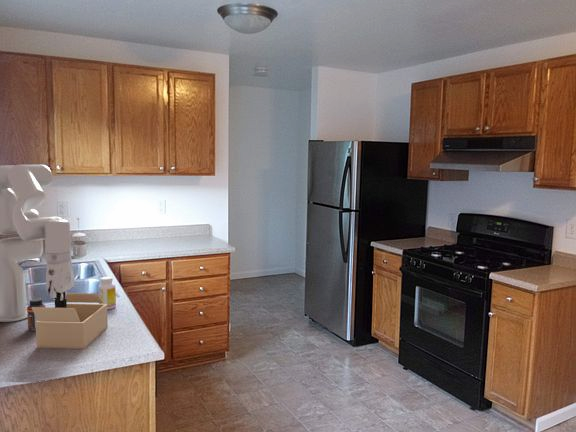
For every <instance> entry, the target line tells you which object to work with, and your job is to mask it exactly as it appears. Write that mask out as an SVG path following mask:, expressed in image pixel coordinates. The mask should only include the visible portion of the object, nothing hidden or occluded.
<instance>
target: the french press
mask: <svg viewBox="0 0 576 432" xmlns="http://www.w3.org/2000/svg"><path fill="white" fill-rule="evenodd" d="M76 220H78V221H77V224H78V226H77V227H80V223H79V222H80V220H81V217H76ZM71 236H72V241H71V243H72V255H71V259H85V258H88V257H89V255H88V254H87V243H86V240H77V238H84V237H86V236H87V234H86V233H83V232H75V233H73V234H72V235H71Z"/></svg>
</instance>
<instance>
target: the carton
mask: <svg viewBox="0 0 576 432" xmlns="http://www.w3.org/2000/svg"><path fill="white" fill-rule="evenodd" d="M67 308H75V310H76V313H77V315H78V317H79V320H80V322H68V321H36V322H35V325H36V331H35V340H36V341H35V343H36V348H37V349H71V350H77V349H79V350H80V349H81V350H85V349H86V348H87V347H88V346H89V345H90V344H91V343H93V341H95V340H96V339H97V338H98V337H99V336H100V335H101V334H102V333H103V332H104V331H105V330H107V328H108V323H109V322H108V309H107V304H99V303H75V302H67Z"/></svg>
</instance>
